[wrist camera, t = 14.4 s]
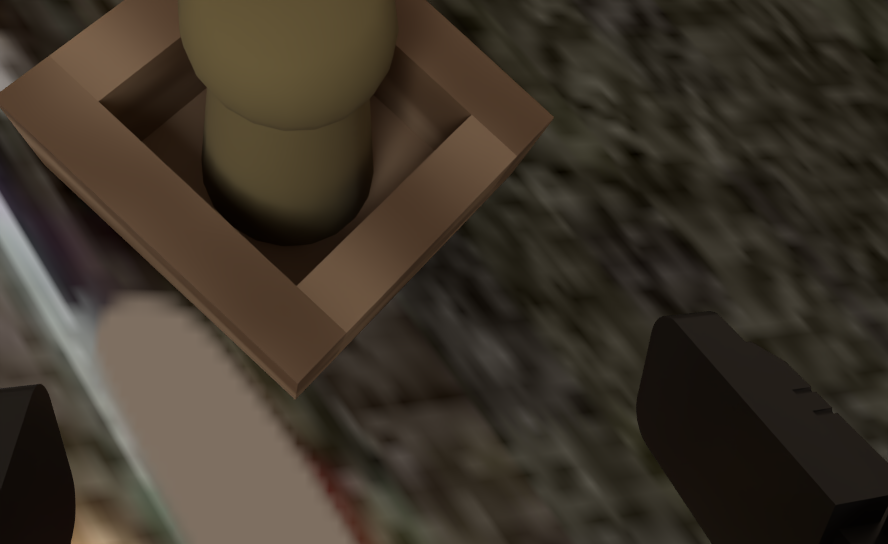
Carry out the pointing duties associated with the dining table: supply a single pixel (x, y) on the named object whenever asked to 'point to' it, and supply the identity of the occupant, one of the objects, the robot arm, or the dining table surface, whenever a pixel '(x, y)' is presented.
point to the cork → (288, 109)
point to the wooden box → (229, 250)
